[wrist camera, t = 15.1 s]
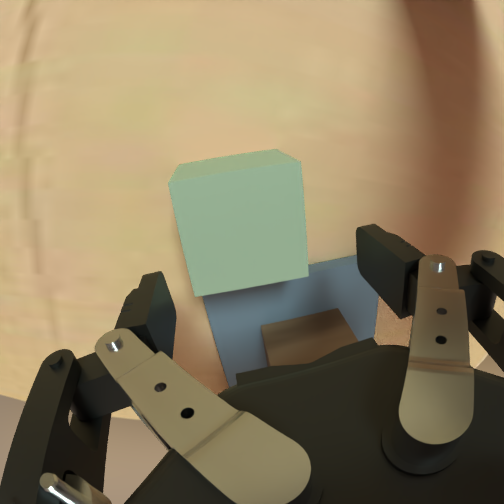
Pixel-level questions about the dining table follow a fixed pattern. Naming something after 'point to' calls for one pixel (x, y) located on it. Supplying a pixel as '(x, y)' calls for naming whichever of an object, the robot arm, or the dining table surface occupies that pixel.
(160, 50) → the dining table surface
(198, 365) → the dining table surface
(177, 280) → the dining table surface
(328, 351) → the walnut block
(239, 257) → the sage green block
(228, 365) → the base board
